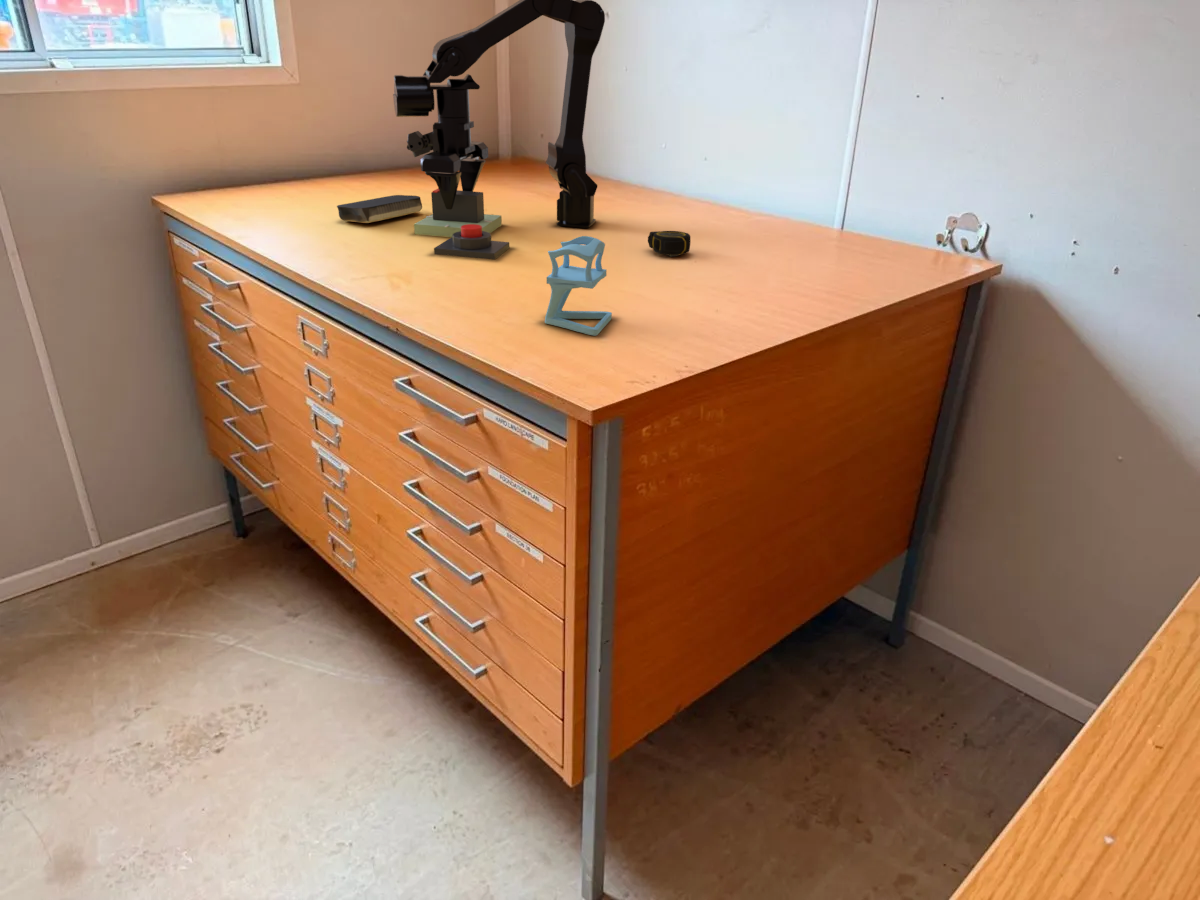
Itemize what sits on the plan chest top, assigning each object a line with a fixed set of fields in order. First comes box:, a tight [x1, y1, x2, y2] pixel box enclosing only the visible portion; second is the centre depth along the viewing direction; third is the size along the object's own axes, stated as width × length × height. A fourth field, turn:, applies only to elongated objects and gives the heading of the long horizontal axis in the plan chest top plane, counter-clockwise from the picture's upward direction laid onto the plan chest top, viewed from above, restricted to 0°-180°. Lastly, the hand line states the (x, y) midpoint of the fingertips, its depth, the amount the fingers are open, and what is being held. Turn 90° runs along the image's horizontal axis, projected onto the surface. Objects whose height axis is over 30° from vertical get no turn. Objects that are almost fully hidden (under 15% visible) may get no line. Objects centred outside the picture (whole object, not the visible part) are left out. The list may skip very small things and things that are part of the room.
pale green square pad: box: [413, 213, 503, 238], centre depth 166 cm, size 13×13×2 cm
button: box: [461, 224, 482, 238], centre depth 151 cm, size 4×4×2 cm
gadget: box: [430, 187, 485, 223], centre depth 164 cm, size 9×4×5 cm, turn 77°
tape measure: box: [647, 230, 691, 257], centre depth 154 cm, size 7×7×4 cm
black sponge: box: [336, 194, 423, 224], centre depth 173 cm, size 16×8×4 cm, turn 143°
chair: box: [544, 235, 613, 337], centre depth 118 cm, size 8×8×12 cm
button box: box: [433, 231, 511, 261], centre depth 152 cm, size 11×8×3 cm
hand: (458, 204), depth 164 cm, fingers open, 9 cm apart
